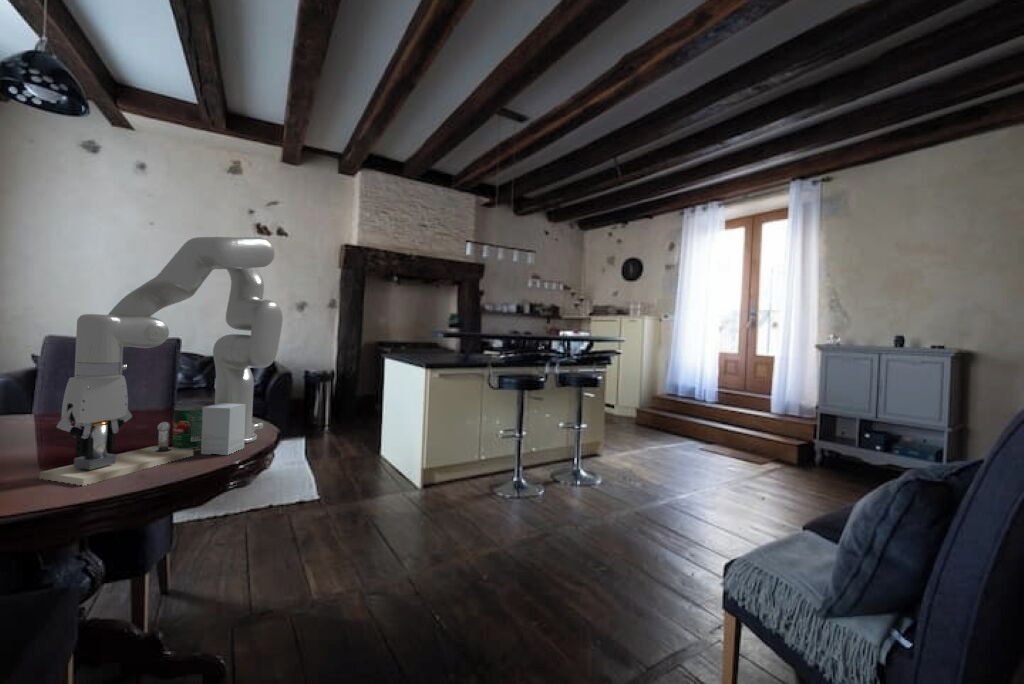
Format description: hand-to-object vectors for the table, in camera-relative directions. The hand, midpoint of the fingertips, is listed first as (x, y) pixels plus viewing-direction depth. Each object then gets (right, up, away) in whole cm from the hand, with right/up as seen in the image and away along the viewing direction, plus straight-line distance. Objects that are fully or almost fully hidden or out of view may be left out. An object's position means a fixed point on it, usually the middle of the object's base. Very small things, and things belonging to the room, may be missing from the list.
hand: (95, 452), depth 95 cm
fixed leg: (+3, -3, +15) cm, 15 cm away
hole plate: (+1, -5, +6) cm, 8 cm away
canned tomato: (+2, -5, +25) cm, 26 cm away
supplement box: (+14, -6, +22) cm, 26 cm away
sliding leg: (0, -3, 0) cm, 3 cm away
